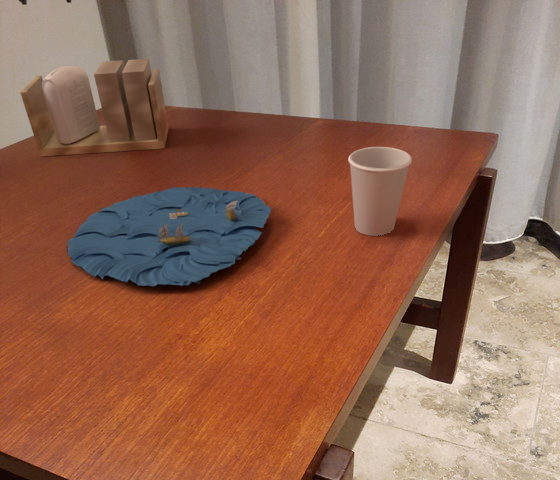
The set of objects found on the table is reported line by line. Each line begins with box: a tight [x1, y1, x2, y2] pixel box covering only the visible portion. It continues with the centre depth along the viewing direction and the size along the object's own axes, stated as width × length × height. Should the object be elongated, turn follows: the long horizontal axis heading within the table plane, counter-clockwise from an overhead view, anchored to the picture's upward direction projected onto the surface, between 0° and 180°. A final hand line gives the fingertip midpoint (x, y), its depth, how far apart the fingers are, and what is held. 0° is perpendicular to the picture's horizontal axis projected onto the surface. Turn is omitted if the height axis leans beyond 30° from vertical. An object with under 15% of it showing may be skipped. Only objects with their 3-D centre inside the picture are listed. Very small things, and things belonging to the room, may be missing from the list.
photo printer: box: [42, 65, 101, 144], centre depth 107 cm, size 10×4×12 cm, turn 158°
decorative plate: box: [67, 186, 272, 287], centre depth 78 cm, size 30×30×5 cm
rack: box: [19, 58, 169, 158], centre depth 108 cm, size 24×12×14 cm, turn 95°
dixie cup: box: [347, 146, 413, 237], centre depth 77 cm, size 8×8×10 cm
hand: (45, 0), depth 106 cm, fingers open, 8 cm apart
